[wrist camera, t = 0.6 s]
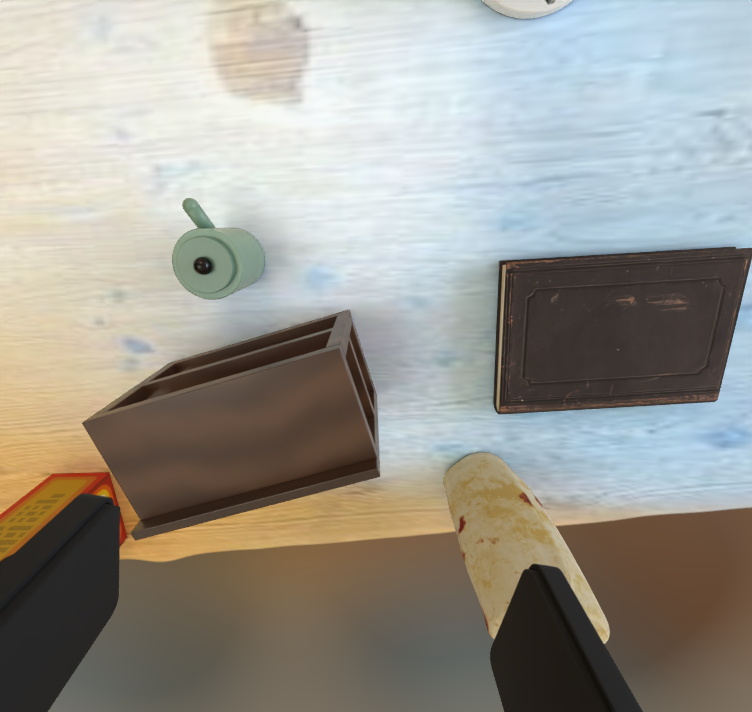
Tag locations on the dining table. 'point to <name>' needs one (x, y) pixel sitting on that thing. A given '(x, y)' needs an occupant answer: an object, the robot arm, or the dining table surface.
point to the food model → (507, 537)
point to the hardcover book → (616, 329)
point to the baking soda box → (49, 506)
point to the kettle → (215, 257)
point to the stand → (244, 427)
